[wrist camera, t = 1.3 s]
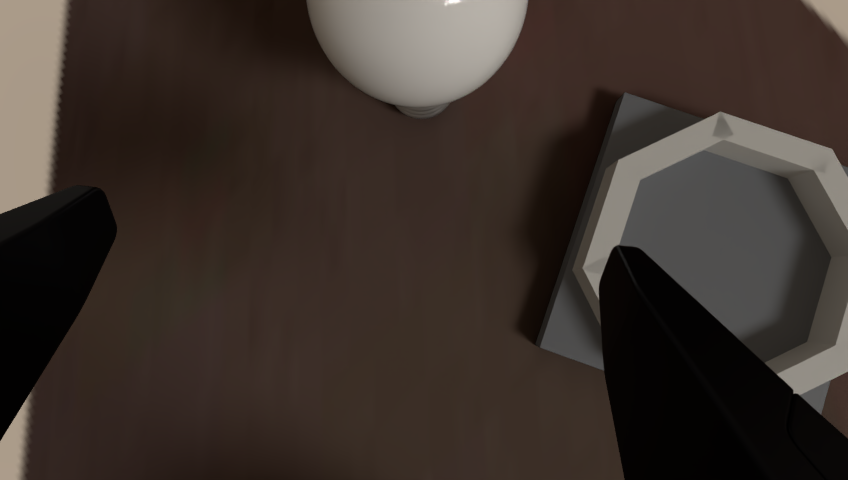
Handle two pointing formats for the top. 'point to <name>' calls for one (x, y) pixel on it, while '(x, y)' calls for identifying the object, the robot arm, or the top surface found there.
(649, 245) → the bulb stand
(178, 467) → the top surface
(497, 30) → the lightbulb
